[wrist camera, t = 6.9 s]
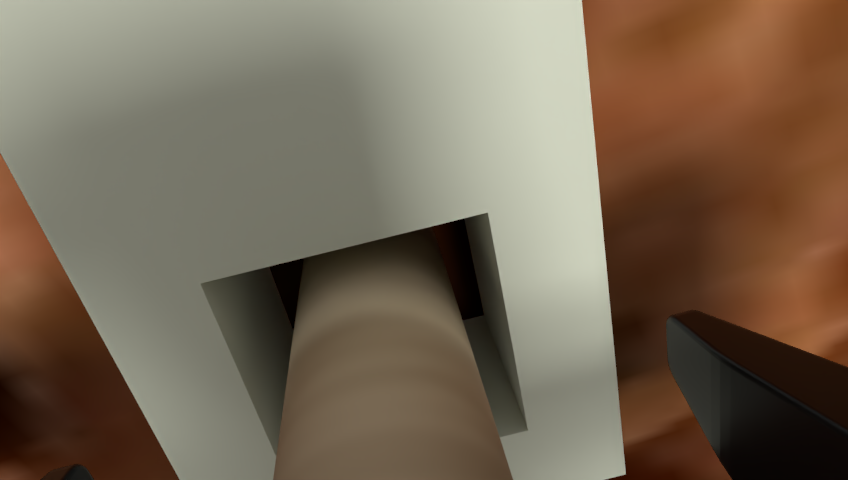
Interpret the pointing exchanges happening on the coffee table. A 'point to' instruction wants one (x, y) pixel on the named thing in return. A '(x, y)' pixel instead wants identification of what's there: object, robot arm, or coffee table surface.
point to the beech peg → (384, 372)
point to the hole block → (316, 197)
